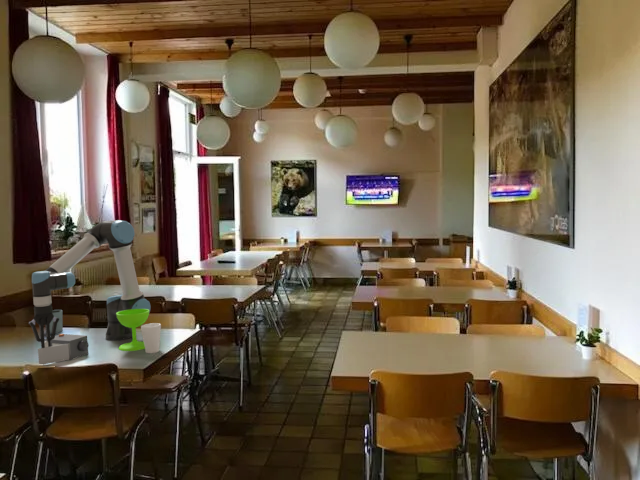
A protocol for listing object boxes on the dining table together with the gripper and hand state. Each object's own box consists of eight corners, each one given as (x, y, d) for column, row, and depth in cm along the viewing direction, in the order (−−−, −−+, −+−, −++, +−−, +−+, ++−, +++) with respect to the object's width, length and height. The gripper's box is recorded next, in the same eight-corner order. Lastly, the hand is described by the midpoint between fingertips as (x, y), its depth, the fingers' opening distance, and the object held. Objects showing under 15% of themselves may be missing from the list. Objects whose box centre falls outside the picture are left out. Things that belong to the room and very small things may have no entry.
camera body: (91, 354, 285) (90, 334, 284) (73, 360, 274) (72, 339, 274) (63, 351, 292) (62, 332, 291) (45, 357, 281) (44, 337, 281)
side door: (70, 358, 275) (69, 343, 275) (71, 359, 274) (70, 343, 274) (38, 364, 267) (37, 348, 266) (39, 365, 266) (38, 349, 266)
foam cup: (151, 354, 278) (149, 328, 277) (138, 352, 283) (136, 326, 282) (166, 350, 286) (164, 324, 285) (153, 348, 291) (151, 322, 290)
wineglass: (118, 352, 285) (115, 316, 284) (118, 345, 300) (116, 310, 299) (152, 348, 290) (150, 312, 289) (150, 341, 305) (148, 307, 304)
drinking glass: (67, 330, 342) (65, 310, 341) (51, 334, 334) (49, 313, 333) (57, 329, 348) (55, 309, 347) (41, 332, 339) (39, 312, 338)
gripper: (55, 301, 275) (59, 351, 277) (25, 306, 267) (29, 356, 269) (60, 304, 269) (63, 354, 271) (29, 308, 261) (33, 359, 263)
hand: (46, 355), depth 270 cm, fingers closed
